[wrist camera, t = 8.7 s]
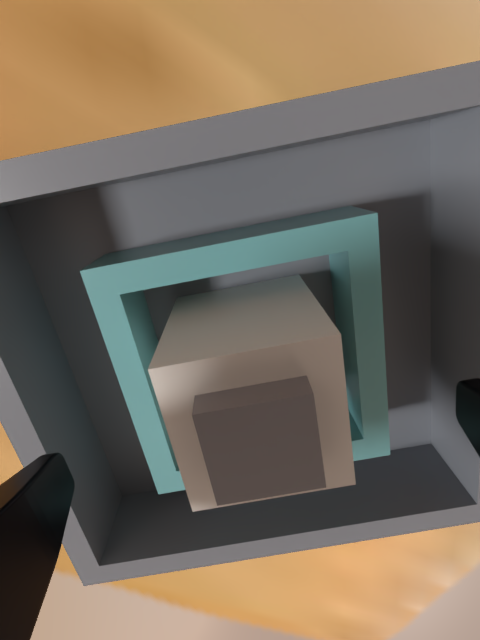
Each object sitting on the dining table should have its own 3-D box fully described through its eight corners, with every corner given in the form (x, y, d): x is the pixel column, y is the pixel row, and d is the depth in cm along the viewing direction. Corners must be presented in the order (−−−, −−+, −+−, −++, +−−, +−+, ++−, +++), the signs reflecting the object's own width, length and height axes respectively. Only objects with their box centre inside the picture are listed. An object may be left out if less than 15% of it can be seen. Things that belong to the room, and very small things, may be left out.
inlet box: (447, 85, 11) (543, 47, 8) (443, 445, 16) (500, 518, 12) (-20, 182, 11) (-120, 186, 8) (113, 502, 16) (84, 586, 13)
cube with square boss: (298, 274, 12) (351, 348, 7) (313, 381, 14) (366, 508, 8) (177, 297, 12) (139, 387, 7) (204, 401, 14) (190, 537, 9)
